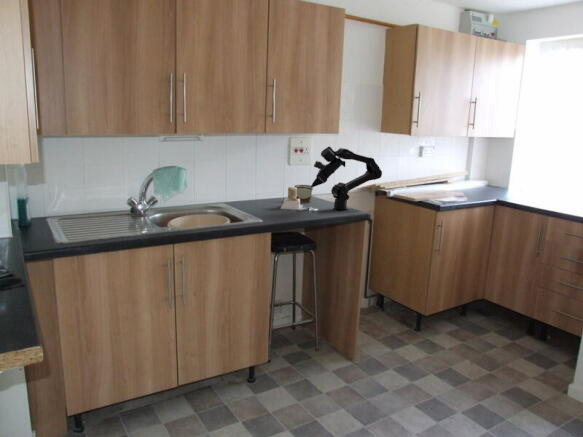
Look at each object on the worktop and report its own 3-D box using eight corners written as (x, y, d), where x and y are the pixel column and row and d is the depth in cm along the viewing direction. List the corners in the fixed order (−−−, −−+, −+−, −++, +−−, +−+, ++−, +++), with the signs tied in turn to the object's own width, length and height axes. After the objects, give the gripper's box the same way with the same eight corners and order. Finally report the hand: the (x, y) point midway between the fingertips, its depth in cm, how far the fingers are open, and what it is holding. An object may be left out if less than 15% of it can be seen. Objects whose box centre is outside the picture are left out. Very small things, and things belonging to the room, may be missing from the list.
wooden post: (296, 206, 281) (296, 187, 279) (295, 207, 277) (296, 188, 274) (288, 205, 282) (288, 187, 279) (287, 207, 277) (287, 188, 275)
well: (303, 205, 285) (303, 198, 284) (301, 209, 273) (301, 202, 272) (283, 205, 286) (283, 197, 285) (280, 209, 274) (280, 201, 273)
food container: (315, 201, 299) (316, 185, 297) (312, 203, 293) (312, 186, 291) (297, 199, 304) (297, 184, 302) (293, 201, 298) (293, 185, 296)
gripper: (323, 154, 278) (303, 173, 282) (321, 157, 260) (300, 177, 263) (336, 168, 279) (316, 186, 282) (335, 172, 261) (314, 192, 264)
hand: (312, 185), depth 273 cm, fingers open, 9 cm apart
